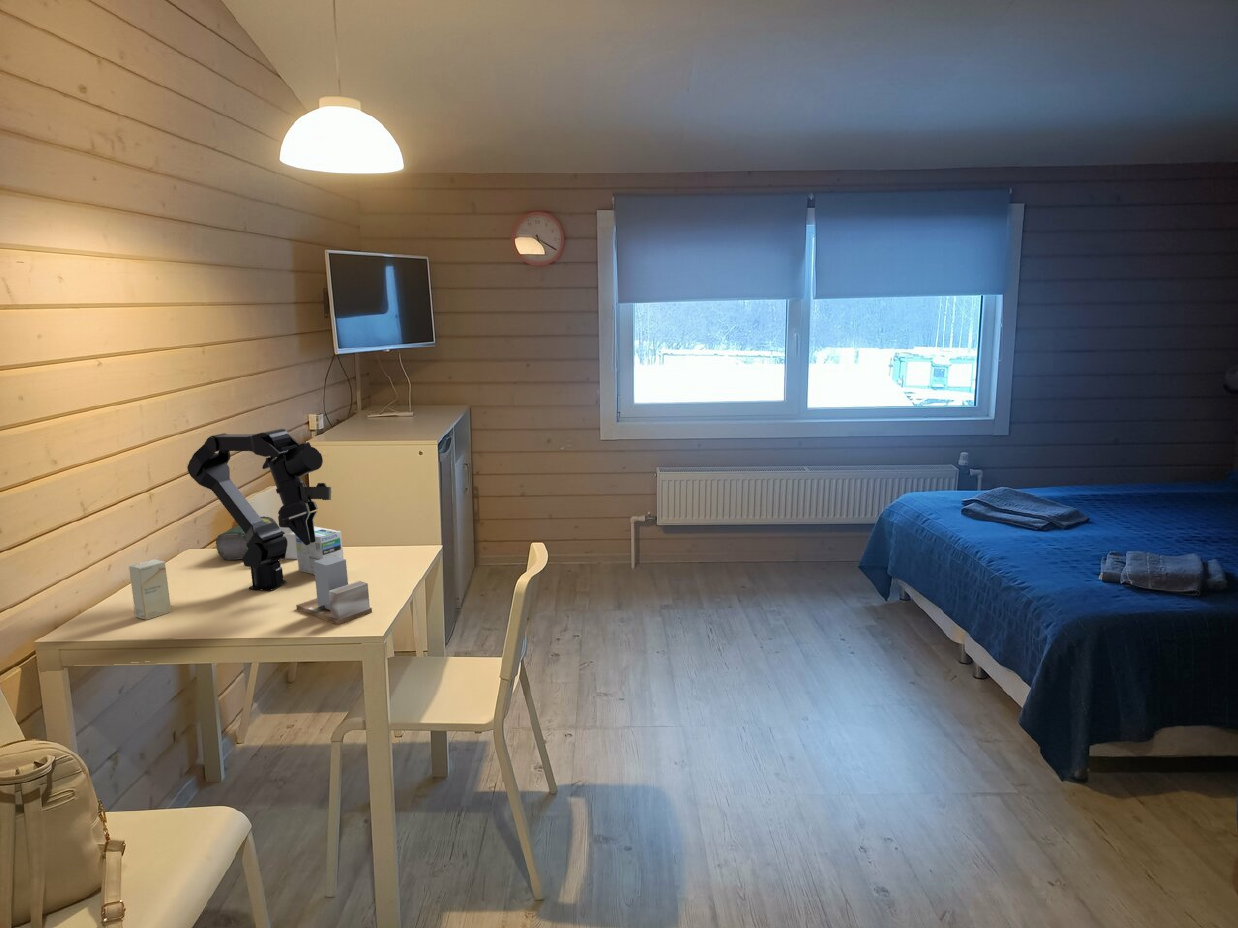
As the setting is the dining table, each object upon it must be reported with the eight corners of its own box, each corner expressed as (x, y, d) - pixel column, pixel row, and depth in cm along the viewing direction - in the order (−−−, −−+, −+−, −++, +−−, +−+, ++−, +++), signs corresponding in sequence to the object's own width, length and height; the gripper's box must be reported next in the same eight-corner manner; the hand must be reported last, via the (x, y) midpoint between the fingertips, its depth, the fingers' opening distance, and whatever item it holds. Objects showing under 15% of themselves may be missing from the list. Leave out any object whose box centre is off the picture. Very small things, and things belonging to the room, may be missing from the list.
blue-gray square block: (312, 607, 195) (307, 562, 193) (336, 598, 200) (332, 555, 198) (329, 613, 191) (324, 568, 189) (353, 604, 196) (349, 560, 194)
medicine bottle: (298, 559, 235) (294, 516, 232) (274, 558, 236) (270, 516, 233) (312, 551, 241) (308, 510, 239) (289, 550, 243) (285, 509, 240)
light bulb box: (345, 570, 225) (342, 530, 223) (324, 577, 219) (320, 537, 217) (318, 564, 231) (314, 525, 228) (297, 571, 225) (293, 531, 223)
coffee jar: (251, 559, 234) (283, 539, 252) (245, 531, 232) (278, 513, 250) (217, 562, 235) (252, 542, 253) (211, 534, 233) (246, 516, 251)
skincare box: (145, 620, 193) (138, 569, 191) (134, 617, 196) (127, 565, 193) (172, 611, 199) (165, 561, 196) (161, 608, 201) (154, 558, 198)
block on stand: (296, 609, 198) (293, 580, 197) (330, 597, 205) (328, 569, 204) (337, 624, 189) (334, 594, 187) (372, 612, 196) (369, 582, 194)
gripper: (316, 469, 196) (340, 533, 197) (326, 470, 214) (348, 529, 215) (267, 485, 194) (291, 550, 195) (281, 485, 212) (303, 545, 213)
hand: (310, 543), depth 204 cm, fingers open, 9 cm apart
